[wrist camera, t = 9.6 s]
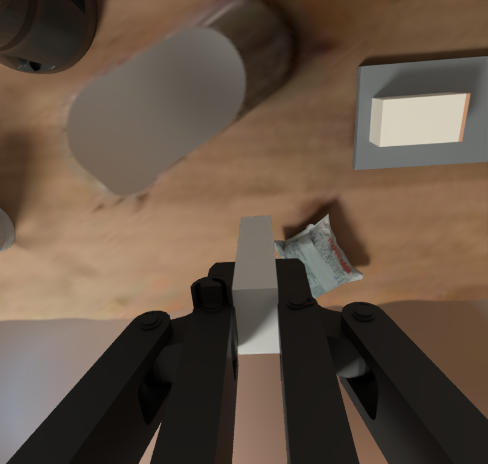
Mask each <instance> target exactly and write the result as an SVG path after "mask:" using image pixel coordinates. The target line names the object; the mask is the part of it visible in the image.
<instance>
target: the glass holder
mask: <svg viewBox="0 0 488 464" xmlns="http://www.w3.org/2000/svg"><path fill="white" fill-rule="evenodd" d="M14 239H15V229H14V226H13V223H12V221H11V219H10V218H9V216H8V215H7V214H6V213H5V212H4V211H3V210H2V209H1V208H0V252H3V251H5V250H7V249H9V248H10V247H11V245H12V244H13V242H14Z"/></svg>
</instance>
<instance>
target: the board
mask: <svg viewBox="0 0 488 464" xmlns="http://www.w3.org/2000/svg"><path fill="white" fill-rule="evenodd" d="M447 92H457V93H471V94H470V99H469V105H468V111H467V116H466V122H465V128H464V133H463V139H462V142H447V143H432V144H417V145H402V146H387V147H379V146H377V145H375V144H373V143H371V142H370V141H369V137H370V123H371V108H372V98H381V97H394V96H407V95H420V94H434V93H447ZM475 162H488V56H483V57H470V58H458V59H446V60H433V61H421V62H409V63H397V64H384V65H372V66H360V67H358V79H357V98H356V117H355V136H354V155H353V168H354V169H355V170H362V169H378V168H394V167H411V166H427V165H443V164H459V163H475Z"/></svg>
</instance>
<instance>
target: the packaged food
mask: <svg viewBox="0 0 488 464" xmlns="http://www.w3.org/2000/svg"><path fill="white" fill-rule="evenodd" d="M274 246H275V248H276V250H277V252H278V253H279V255H280V256H281V258H282V259H288V258H298V259H300V260H301V261H302V262H303V263H304V265H305V269H306V273H307V277H308V281H309V285H310V289H311V293H312V297H313V298H317V297H318V296H321V295H322V294H324V293H327V292H329V291H330V290H332V289H334V288H336V287H338V286H340V285H342V284H344V283H346V282H350V281H356V280H360V279H363V274H362V273H361V272H360V271H358V270H357V269H356V268H354V267H353V266H351V264H350V262H349V261H348V259H347V257H346V255H345V254H344V252H343V250H342V249H341V248H340V247H339V246H338V245H337V243H336V237H335V235H334V233H333V231H332V229H331V226H330V221H329V213H328V214H327V215H326V216H325V217H324V218H323V219H321V220H320V221H319V222H318V223H317V224H315V225H313V224H310V225H308V226H307V227H306V229H305V230H303V231H301V232H299V233H298V234H297V235H295V236H294V237H293V238H291V239H290V238H289V239H287V240H286V241H283V240H282V241H280V240H278V241H276V240H275V241H274Z"/></svg>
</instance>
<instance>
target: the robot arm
mask: <svg viewBox="0 0 488 464" xmlns="http://www.w3.org/2000/svg"><path fill="white" fill-rule="evenodd" d="M96 22H97V4H96V0H0V63H1V64H3V65H5V66H7V67H9V68H12V69H15V70H18V71H22V72H26V73H35V74H52V73H57V72H61V71H64V70H66V69H68V68H70V67H72V66H73V65H75V64H76V63H77V62H78V61H79V60H80V59H81V58H82V57H83V56H84V55H85V53H86V52H87V50H88V48H89V46H90V44H91V42H92V40H93V37H94V33H95V29H96ZM191 294H192V300H193V306H194V309H193V312H192V313H191V314H188V315H186V316H183V317H180V318H176V319H172V320H171V319H170V315H168V314H167V313H166V312H163V311H150V312H146V313H143V314H141V315H139V316H137V317H136V318H135V319H134V320H133V321H132V322H131V323H130V324H129V325H128V326H127V327H126V329H125V330H124V331H123V332H122V333H121V334H120V335H119V337H118V338H117V339H116V340H115V341H114V342H113V343H112V345H111V346H110V347H109V348H108V349H107V350H106V351H105V352H104V354H103V355H102V356H101V357H100V358H99V359H98V360H97V361H96V363H95V364H94V365H93V366H92V367H91V368H90V369H89V371H88V372H87V373H86V374H85V375H84V376H83V377H82V379H80V381H79V382H78V383H77V384H76V385H75V386H74V388H73V389H72V390H71V391H70V392H69V393H68V394H67V395H66V397H65V398H64V399H63V400H62V401H61V402H60V403H59V405H58V406H57V407H56V408H55V409H54V410H53V411H52V412H51V414H50V415H49V416H48V417H47V418H46V419H45V420H44V421H43V423H42V424H41V425H40V426H39V427H38V428H37V429H36V430H35V432H34V433H33V434H32V435H31V436H30V437H29V438H28V440H27V441H26V442H25V443H24V444H23V445H22V446H21V447H20V449H19V450H18V451H17V452H16V453H15V454H14V455H13V457H12V458H11V459H10V460H9V461H8V462H7V463H6V464H139V462H140V460H141V458H142V456H143V454H144V452H145V450H146V449H147V447H148V445H149V443H150V441H151V439H152V438H153V436H154V434H155V432H156V430H157V429H158V427H159V425H160V423H161V426H160V430H159V433H158V437H157V440H156V444H155V448H154V451H153V455H152V458H151V462H150V464H232V454H233V440H234V425H235V409H236V395H237V379H238V356H237V352H238V353H239V354H262V353H280V369H281V382H282V396H283V408H284V423H285V436H286V450H287V464H359V460H358V456H357V453H356V449H355V445H354V441H353V437H352V433H351V430H350V426H349V422H348V418H347V414H346V410H345V407H344V403H343V399H342V395H341V391H340V387H339V383H338V380H337V376H336V375H338V376H339V378H340V382H341V383H342V385H343V387H344V388H345V390H346V392H347V394H348V395H349V397H350V398H351V400H352V402H353V404H354V406H355V407H356V409H357V411H358V412H359V414H360V416H361V417H362V419H363V421H364V423H365V424H366V426H367V428H368V430H369V431H370V433H371V435H372V436H373V438H374V440H375V441H376V443H377V445H378V447H379V448H380V450H381V451H382V453H383V455H384V457H385V459H386V460H387V462H388V464H488V419H487V418H486V417H485V416H484V415H483V414H482V413H481V412H480V411H479V410H478V409H477V408H476V407H475V406H474V405H473V404H472V403H471V402H470V401H469V400H468V398H467V397H466V396H465V395H464V394H463V393H462V392H461V391H460V390H459V389H458V388H457V387H456V386H455V385H454V384H453V383H452V382H451V381H450V380H449V379H448V378H447V377H446V375H445V374H444V373H443V372H442V371H441V370H440V369H439V368H438V367H437V366H436V365H435V364H434V363H433V362H432V361H431V360H430V359H429V358H428V357H427V356H426V355H425V354H424V353H423V352H422V351H421V350H420V349H419V347H418V346H417V345H416V344H415V343H414V342H413V341H412V340H411V339H410V338H409V337H408V336H407V335H406V334H405V333H404V332H403V331H402V330H401V329H400V328H399V327H398V326H397V324H395V322H394V321H393V320H392V319H391V318H390V317H389V316H388V315H387V314H386V313H385V312H384V311H383V310H382V309H380V308H379V307H378V306H376V305H373V304H371V303H366V302H353V303H350V304H347V305H346V306H345V307H344V308H343V309H342V312H338V311H332V310H328V309H325V308H323V307H321V306H320V305H318V303H317V301H316V299H315V298H313V297H312V293H311V289H310V285H309V281H308V277H307V273H306V269H305V265H304V263H303V262H302V261H301V260H300V259H298V258H288V259H275V252H274V241H273V230H272V220H271V216H253V217H241V223H240V231H239V238H238V246H237V254H236V262H221V263H215V264H214V265H213V266H212V267H211V268H210V269H209V273H208V277H204V278H201V279H198V280H197V281H195V282H194V283H193V284H192V286H191ZM161 421H162V422H161Z"/></svg>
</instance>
